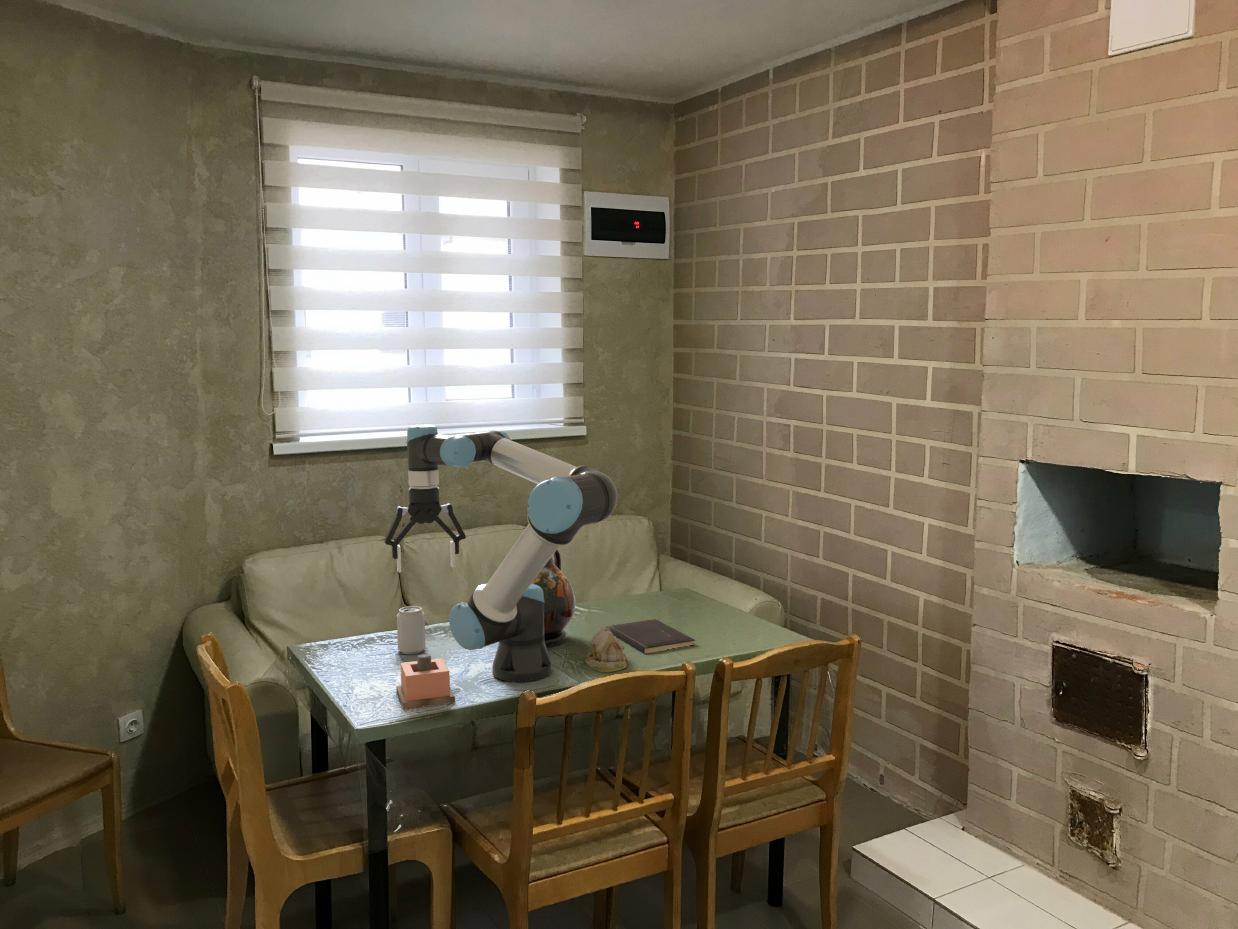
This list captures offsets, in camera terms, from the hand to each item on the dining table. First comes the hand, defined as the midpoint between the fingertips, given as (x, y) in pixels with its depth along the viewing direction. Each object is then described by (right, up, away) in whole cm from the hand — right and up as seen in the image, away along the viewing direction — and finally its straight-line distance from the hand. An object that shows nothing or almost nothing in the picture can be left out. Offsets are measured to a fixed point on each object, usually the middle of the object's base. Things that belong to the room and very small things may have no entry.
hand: (426, 569), depth 247 cm
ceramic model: (+46, -26, +8) cm, 54 cm away
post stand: (+3, -29, -16) cm, 33 cm away
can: (-8, -25, +19) cm, 32 cm away
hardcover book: (+58, -24, +29) cm, 69 cm away
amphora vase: (+26, -23, +28) cm, 45 cm away
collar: (+3, -27, -16) cm, 32 cm away
